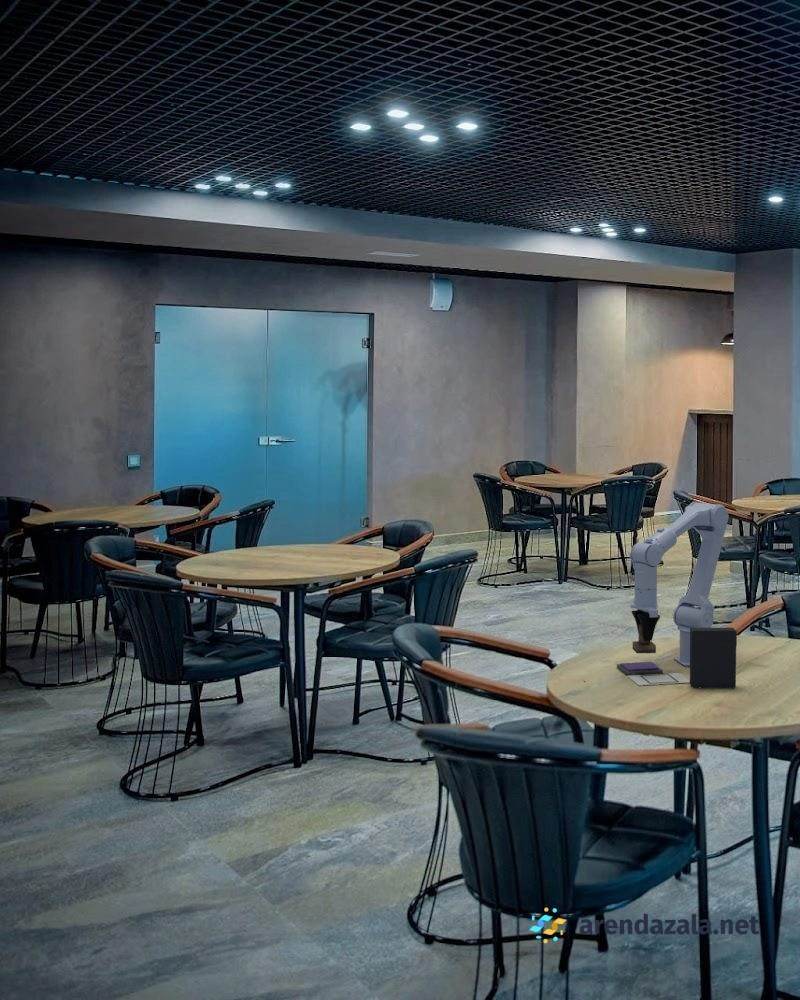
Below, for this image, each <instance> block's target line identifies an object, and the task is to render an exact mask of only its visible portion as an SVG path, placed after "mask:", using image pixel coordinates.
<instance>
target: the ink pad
mask: <svg viewBox="0 0 800 1000" xmlns="http://www.w3.org/2000/svg"><path fill="white" fill-rule="evenodd" d="M616 669H618V670H619V671H620V672H621V673H622V674H623V675H625V676H633V675H642V674H644V675H652V674H659V673H663V669H662V668H661V667H660V666H658V665H657V664H655V663H654V662H652V661H642V662H623V663H617V664H616ZM663 674H664V673H663Z"/></svg>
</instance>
